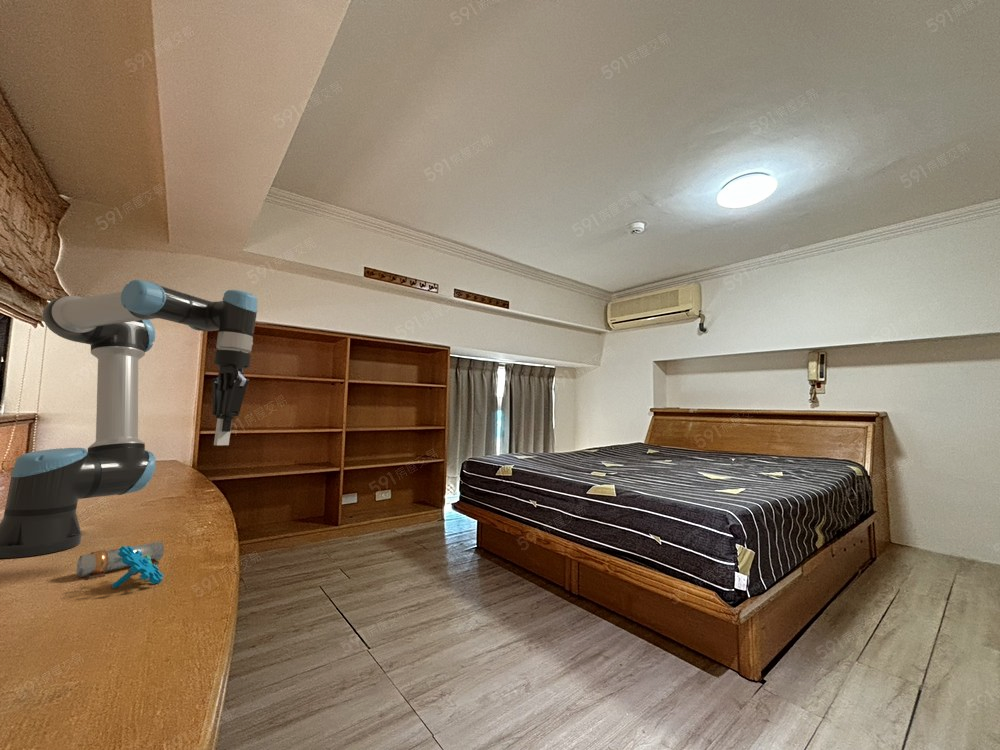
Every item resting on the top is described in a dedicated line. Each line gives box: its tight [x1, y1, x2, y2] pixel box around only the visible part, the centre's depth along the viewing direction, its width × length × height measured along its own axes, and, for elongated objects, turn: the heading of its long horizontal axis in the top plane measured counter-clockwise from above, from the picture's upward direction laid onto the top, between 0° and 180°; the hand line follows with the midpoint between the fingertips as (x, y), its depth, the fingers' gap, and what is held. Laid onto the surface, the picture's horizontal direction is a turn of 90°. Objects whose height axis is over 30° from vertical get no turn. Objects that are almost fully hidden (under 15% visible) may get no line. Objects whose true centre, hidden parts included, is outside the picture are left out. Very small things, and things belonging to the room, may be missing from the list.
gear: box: [111, 545, 164, 589], centre depth 78 cm, size 11×6×10 cm
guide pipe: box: [76, 540, 165, 580], centre depth 86 cm, size 5×13×5 cm, turn 151°
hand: (221, 445), depth 99 cm, fingers closed
